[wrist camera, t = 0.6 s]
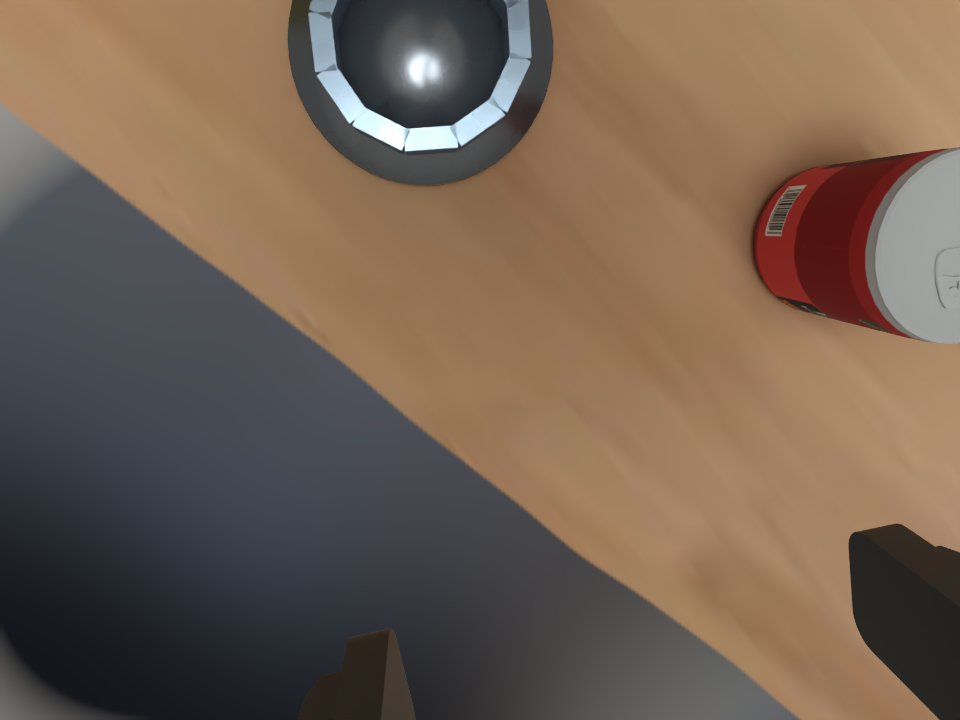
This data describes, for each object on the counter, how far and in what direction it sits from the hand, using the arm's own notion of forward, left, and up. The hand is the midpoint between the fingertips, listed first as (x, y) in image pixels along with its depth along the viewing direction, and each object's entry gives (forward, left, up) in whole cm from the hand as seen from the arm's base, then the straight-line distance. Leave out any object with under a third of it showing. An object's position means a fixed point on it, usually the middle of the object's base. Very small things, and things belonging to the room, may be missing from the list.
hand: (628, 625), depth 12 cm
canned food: (-4, +19, -27) cm, 33 cm away
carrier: (-15, -2, -27) cm, 31 cm away
